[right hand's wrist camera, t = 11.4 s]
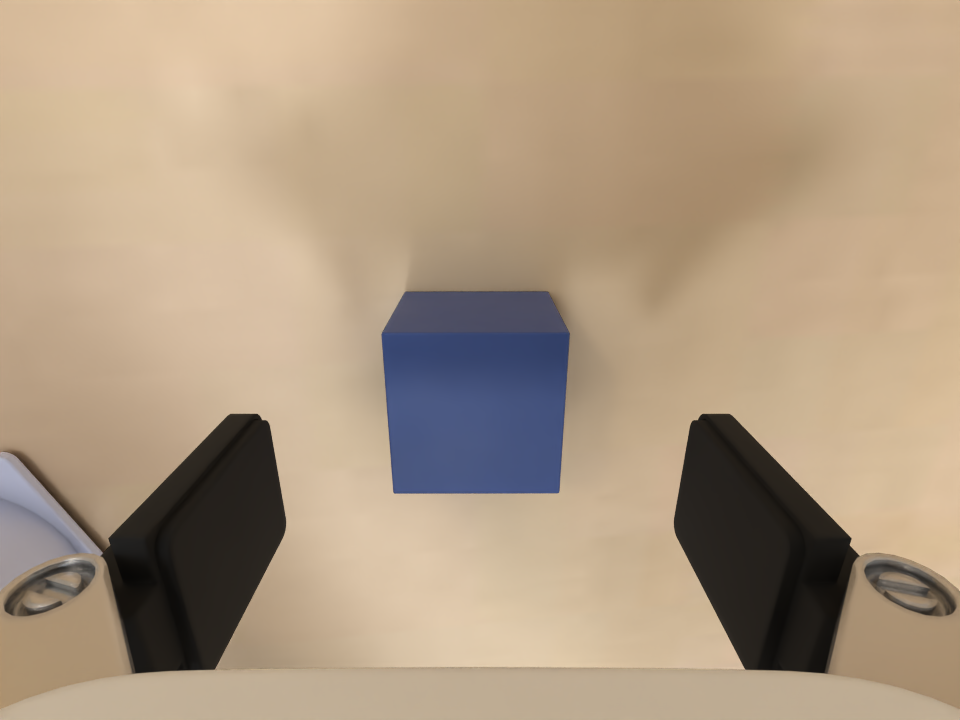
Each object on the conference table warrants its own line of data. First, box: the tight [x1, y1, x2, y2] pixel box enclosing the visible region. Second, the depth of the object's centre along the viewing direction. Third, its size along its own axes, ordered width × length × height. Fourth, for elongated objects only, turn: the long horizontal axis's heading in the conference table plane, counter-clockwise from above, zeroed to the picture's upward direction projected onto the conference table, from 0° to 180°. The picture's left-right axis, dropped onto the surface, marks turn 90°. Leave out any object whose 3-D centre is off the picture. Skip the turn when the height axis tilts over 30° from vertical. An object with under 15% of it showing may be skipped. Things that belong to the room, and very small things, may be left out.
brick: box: [382, 292, 570, 493], centre depth 16 cm, size 5×5×4 cm
